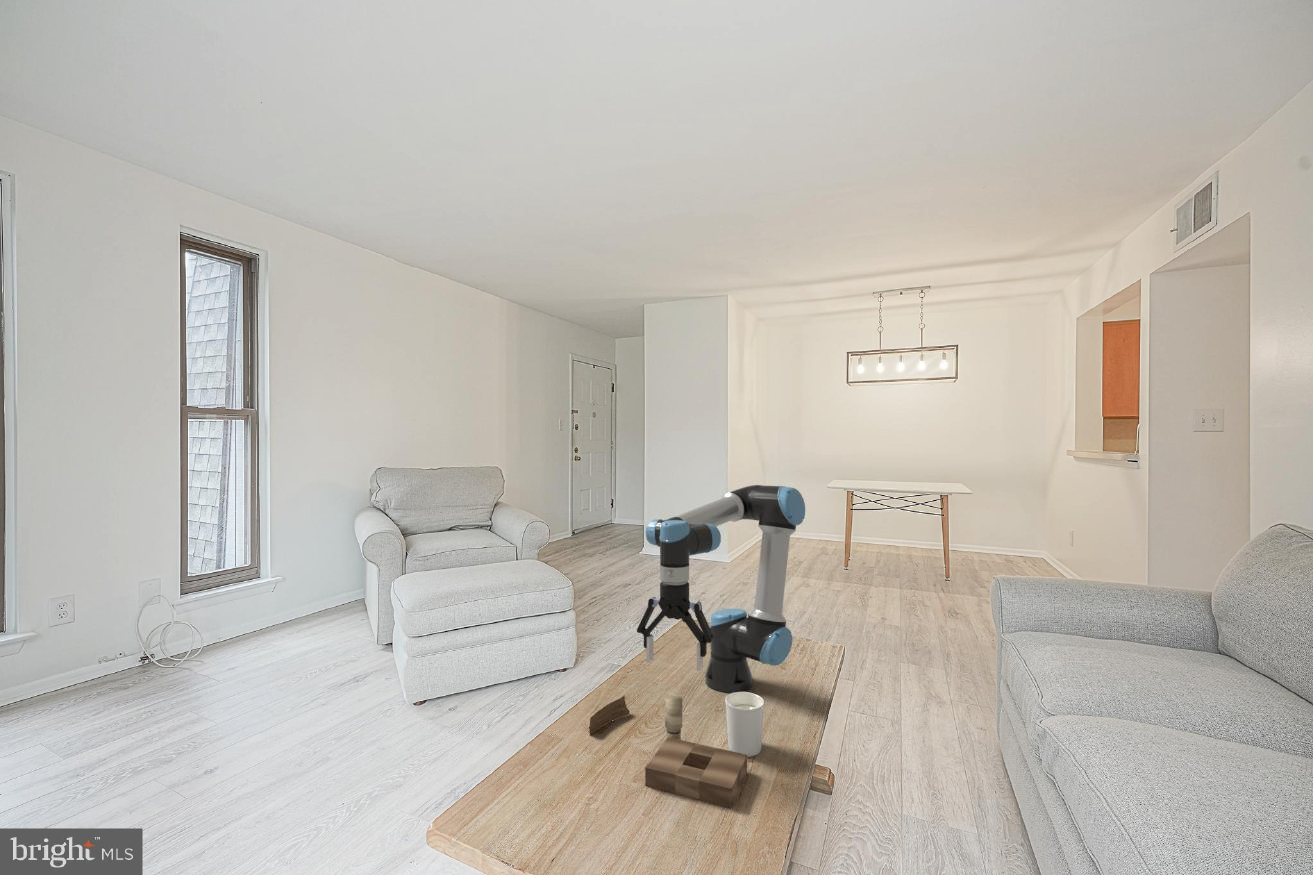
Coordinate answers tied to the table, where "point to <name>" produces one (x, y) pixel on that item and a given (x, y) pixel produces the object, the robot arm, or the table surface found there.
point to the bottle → (673, 716)
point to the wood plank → (608, 714)
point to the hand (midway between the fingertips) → (674, 664)
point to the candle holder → (744, 722)
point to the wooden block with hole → (697, 771)
